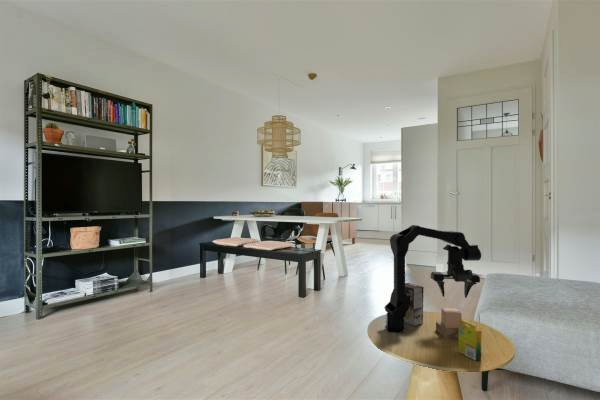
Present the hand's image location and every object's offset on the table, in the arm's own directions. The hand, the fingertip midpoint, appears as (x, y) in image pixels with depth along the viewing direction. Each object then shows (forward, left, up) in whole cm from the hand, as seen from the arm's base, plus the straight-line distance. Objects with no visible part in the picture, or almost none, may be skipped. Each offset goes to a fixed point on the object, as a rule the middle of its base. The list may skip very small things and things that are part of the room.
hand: (454, 297), depth 145 cm
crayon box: (-4, -27, -13) cm, 30 cm away
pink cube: (-4, -8, -9) cm, 13 cm away
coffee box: (-17, +5, -13) cm, 22 cm away
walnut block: (-4, -8, -13) cm, 16 cm away
